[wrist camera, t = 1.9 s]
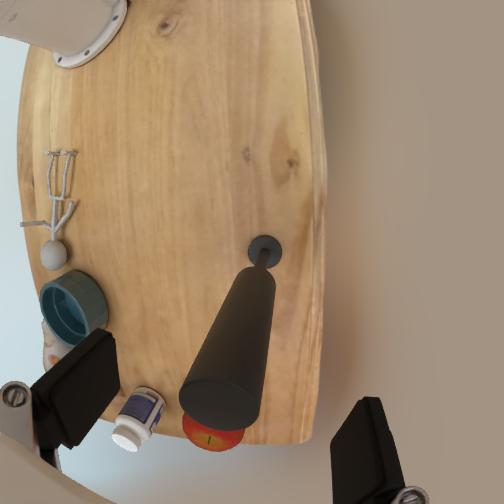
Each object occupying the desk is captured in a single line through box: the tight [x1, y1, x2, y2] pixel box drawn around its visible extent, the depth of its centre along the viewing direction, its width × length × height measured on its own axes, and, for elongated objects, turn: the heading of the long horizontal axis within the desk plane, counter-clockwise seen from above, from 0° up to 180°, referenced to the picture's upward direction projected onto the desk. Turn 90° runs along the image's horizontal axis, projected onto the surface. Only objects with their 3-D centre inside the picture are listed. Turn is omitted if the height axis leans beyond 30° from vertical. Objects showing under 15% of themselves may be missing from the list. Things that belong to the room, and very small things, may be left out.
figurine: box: [20, 151, 77, 271], centre depth 26 cm, size 6×6×15 cm
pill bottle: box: [111, 387, 165, 452], centre depth 31 cm, size 5×5×10 cm
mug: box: [42, 319, 73, 372], centre depth 32 cm, size 8×10×10 cm
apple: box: [182, 413, 245, 452], centre depth 30 cm, size 8×8×8 cm
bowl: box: [39, 271, 108, 348], centre depth 29 cm, size 9×9×5 cm
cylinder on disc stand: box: [179, 235, 282, 431], centre depth 17 cm, size 3×3×20 cm
